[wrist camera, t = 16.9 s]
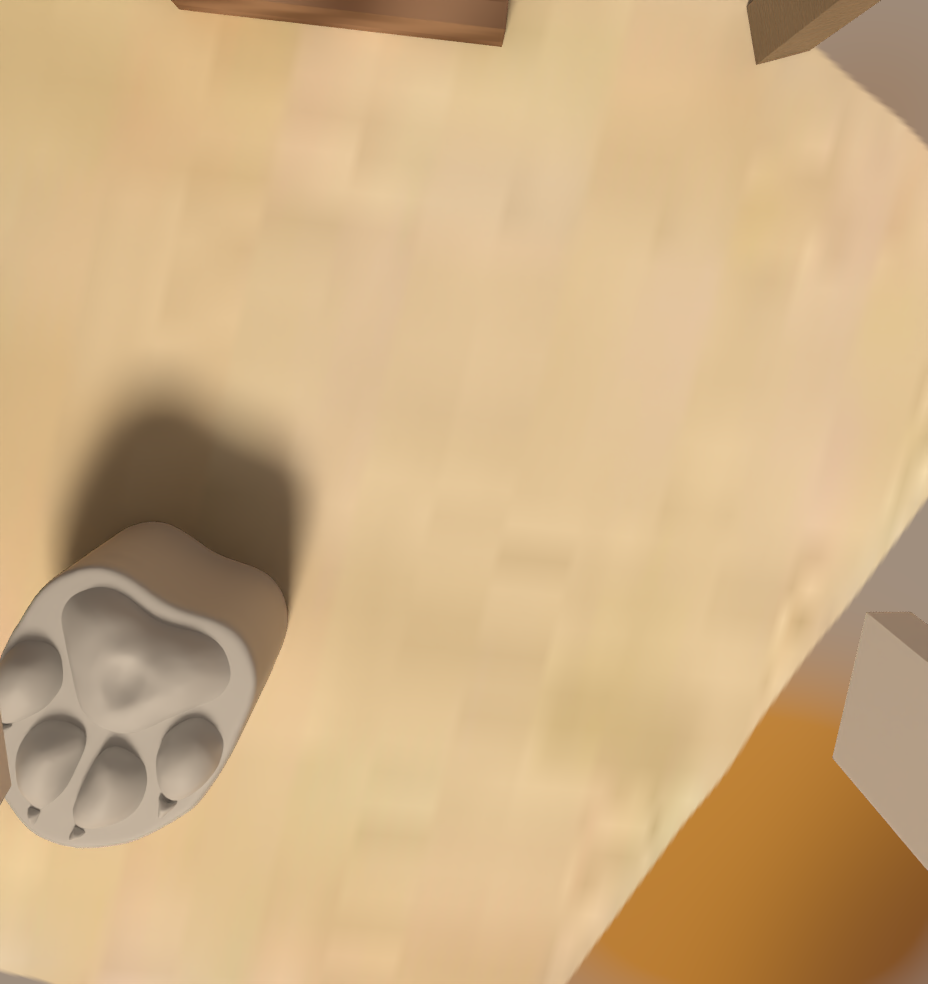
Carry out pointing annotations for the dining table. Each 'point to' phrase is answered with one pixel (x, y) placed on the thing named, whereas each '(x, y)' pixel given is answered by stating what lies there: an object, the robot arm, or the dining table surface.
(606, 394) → the dining table surface
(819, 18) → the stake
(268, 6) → the tray
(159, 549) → the lumpy-topped squat cylinder
